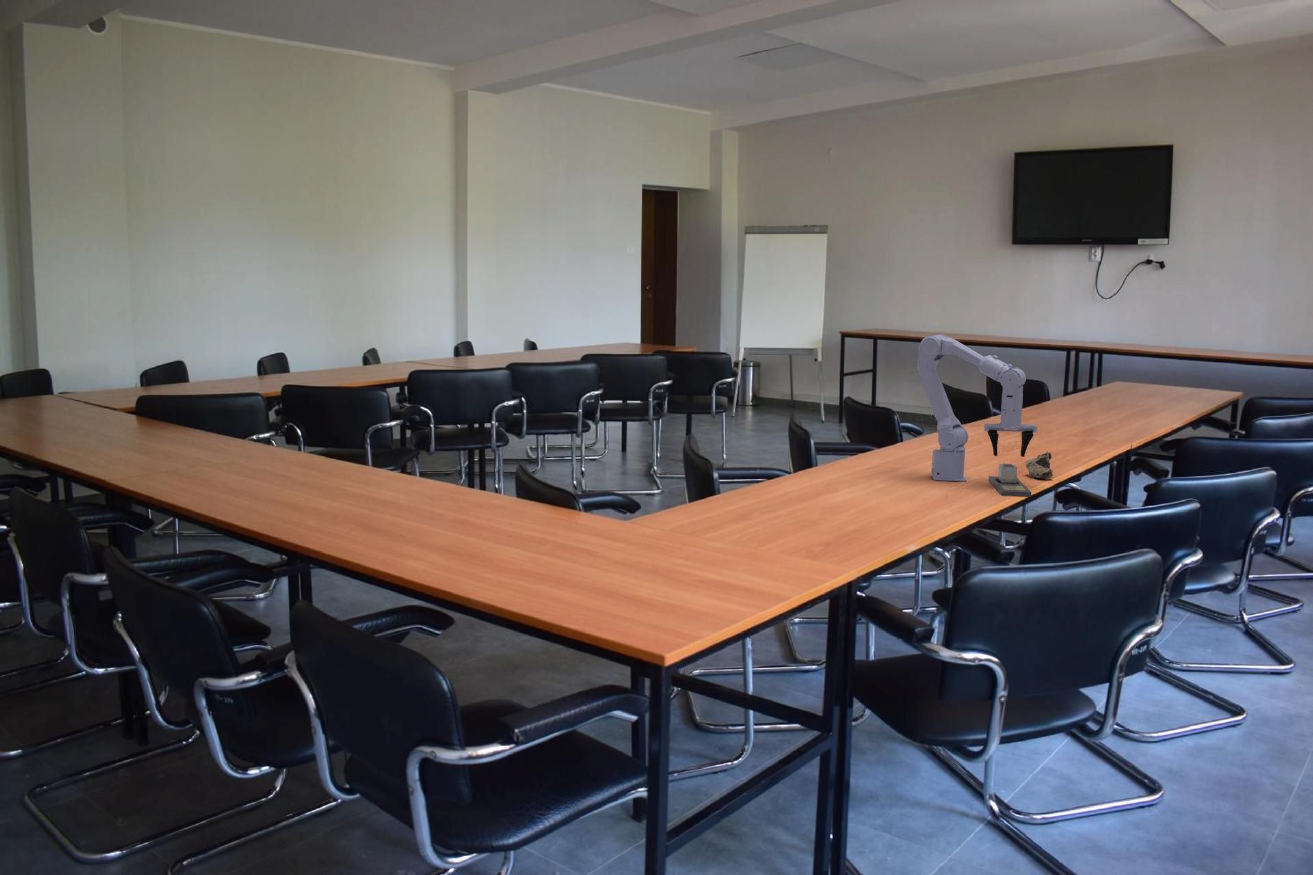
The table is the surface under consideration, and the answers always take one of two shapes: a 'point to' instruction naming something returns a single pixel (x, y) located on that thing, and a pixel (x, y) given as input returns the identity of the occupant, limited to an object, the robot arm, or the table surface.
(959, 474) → the robot arm
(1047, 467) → the rock
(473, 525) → the table surface
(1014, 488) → the rail plate
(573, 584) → the table surface
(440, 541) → the table surface
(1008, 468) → the grey upright block
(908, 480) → the table surface
